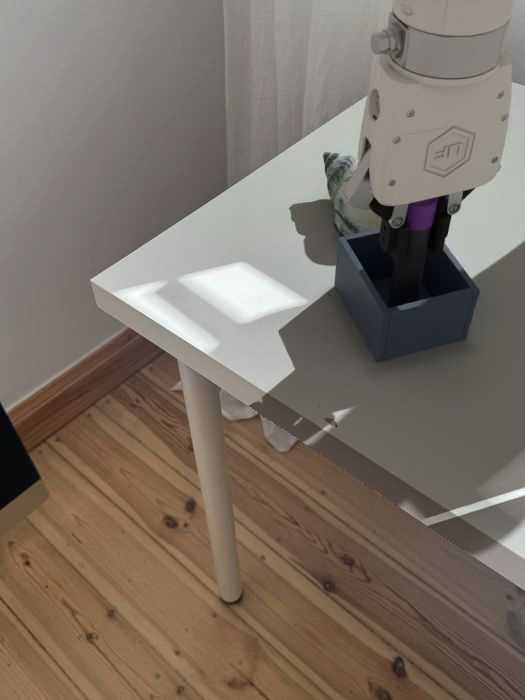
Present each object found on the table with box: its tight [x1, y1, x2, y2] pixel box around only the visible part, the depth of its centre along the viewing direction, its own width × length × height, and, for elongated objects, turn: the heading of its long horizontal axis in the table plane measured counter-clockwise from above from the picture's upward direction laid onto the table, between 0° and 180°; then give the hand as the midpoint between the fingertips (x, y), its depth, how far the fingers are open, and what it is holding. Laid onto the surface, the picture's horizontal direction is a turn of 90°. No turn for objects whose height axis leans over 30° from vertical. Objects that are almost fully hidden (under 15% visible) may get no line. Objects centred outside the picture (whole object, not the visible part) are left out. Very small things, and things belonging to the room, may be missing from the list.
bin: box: [333, 228, 481, 364], centre depth 66 cm, size 9×10×7 cm
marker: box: [388, 197, 438, 308], centre depth 63 cm, size 3×3×12 cm
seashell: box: [322, 151, 382, 237], centre depth 75 cm, size 6×8×12 cm
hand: (411, 247), depth 62 cm, fingers closed on marker, 2 cm apart
